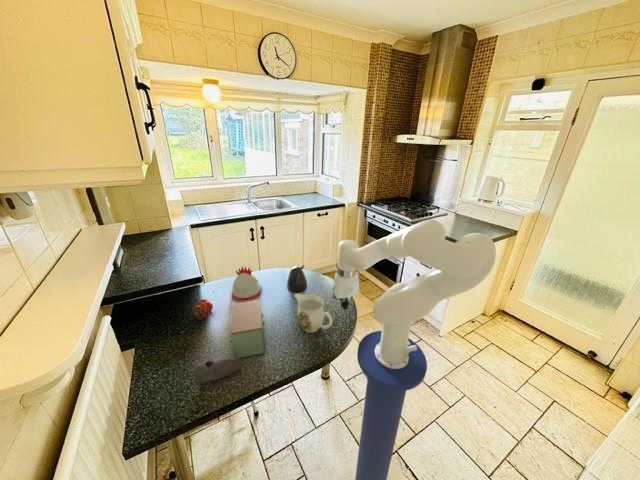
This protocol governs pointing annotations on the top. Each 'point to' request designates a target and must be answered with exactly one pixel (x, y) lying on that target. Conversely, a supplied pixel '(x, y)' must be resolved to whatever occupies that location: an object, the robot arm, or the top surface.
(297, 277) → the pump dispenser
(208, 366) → the perforated stone tool
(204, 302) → the dragon fruit
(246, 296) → the grey rounded dome
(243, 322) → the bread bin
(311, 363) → the top surface
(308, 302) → the pitcher
